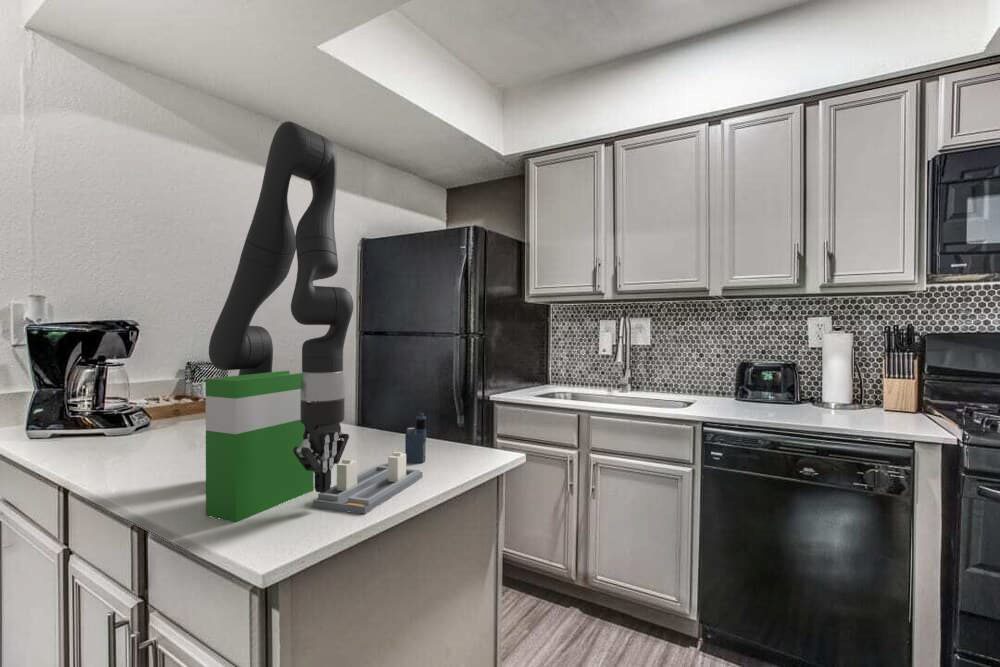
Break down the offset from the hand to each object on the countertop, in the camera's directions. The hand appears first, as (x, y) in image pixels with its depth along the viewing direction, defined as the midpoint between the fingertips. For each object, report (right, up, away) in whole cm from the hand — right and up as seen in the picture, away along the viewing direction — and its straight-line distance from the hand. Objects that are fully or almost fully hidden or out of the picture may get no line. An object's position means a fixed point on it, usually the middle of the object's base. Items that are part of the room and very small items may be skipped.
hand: (322, 491), depth 88 cm
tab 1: (+2, -2, +7) cm, 7 cm away
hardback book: (-12, -3, +3) cm, 13 cm away
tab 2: (+11, -2, +13) cm, 17 cm away
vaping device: (+12, -3, +31) cm, 33 cm away
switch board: (+7, -3, +10) cm, 12 cm away
